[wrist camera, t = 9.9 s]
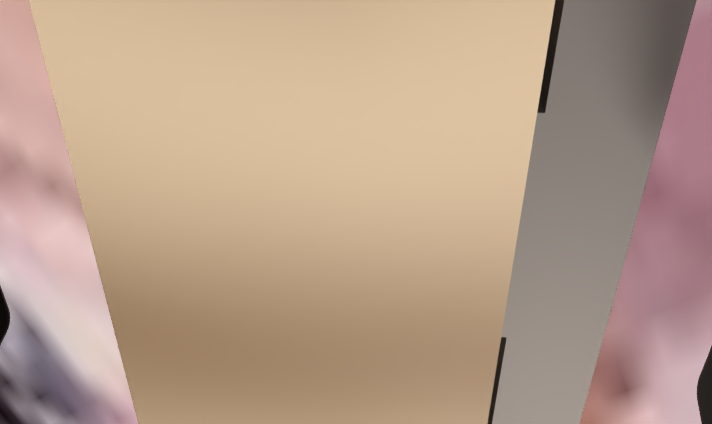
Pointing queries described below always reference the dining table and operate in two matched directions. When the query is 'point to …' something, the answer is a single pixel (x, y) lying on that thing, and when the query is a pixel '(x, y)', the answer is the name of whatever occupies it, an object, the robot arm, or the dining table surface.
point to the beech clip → (301, 197)
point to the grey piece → (582, 197)
